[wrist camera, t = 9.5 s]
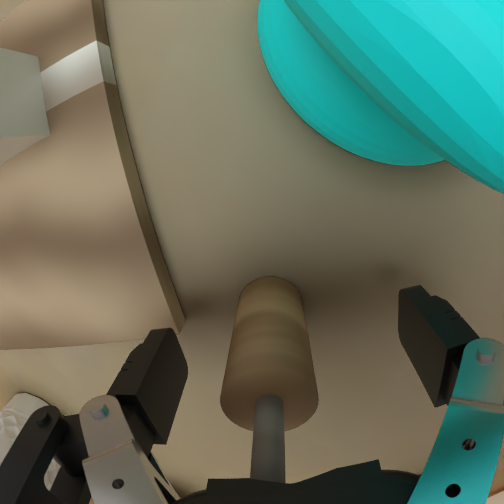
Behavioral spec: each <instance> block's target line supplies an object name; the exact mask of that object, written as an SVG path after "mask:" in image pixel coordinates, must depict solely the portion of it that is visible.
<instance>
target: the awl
mask: <svg viewBox="0 0 504 504" xmlns="http://www.w3.org/2000/svg"><path fill="white" fill-rule="evenodd" d="M220 403H221V407H222V410H223V412H224V413H225V415H226V416H227V417H228V418H229V419H230V420H231V421H232V422H234V423H235V424H237V425H238V426H240V427H242V428H245V429H247V430H251V431H253V444H252V459H251V473H250V479H257V480H263V481H271V482H278V483H285V441H284V431H287V430H291V429H294V428H296V427H298V426H300V425H302V424H303V423H305V422H306V421H307V420H309V419H310V418H311V417H312V415H313V414H314V413H315V411H316V409H317V406H318V391H317V385H316V379H315V373H314V367H313V361H312V355H311V349H310V343H309V338H308V332H307V327H306V321H305V316H304V310H303V305H302V299H301V296H300V294H299V292H298V290H297V289H296V287H295V286H294V285H293V284H291V283H290V282H288V281H287V280H285V279H282V278H279V277H262V278H259V279H256V280H254V281H252V282H251V283H249V284H248V285H247V286H246V287H245V288H244V289H243V291H242V293H241V295H240V297H239V302H238V307H237V312H236V318H235V323H234V328H233V333H232V338H231V344H230V349H229V354H228V359H227V365H226V370H225V375H224V380H223V386H222V391H221V396H220Z"/></svg>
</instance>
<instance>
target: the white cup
mask: <svg viewBox="0 0 504 504" xmlns="http://www.w3.org/2000/svg"><path fill="white" fill-rule="evenodd" d="M48 405H49V404H47V403H46V402H44V401H43V400H41V399H40V398H38V397H35V396H33V395H30V394H28V393H17V394H16V395H15V396H14V397H13V398H12V399H11V400H10V401H9V402H8V403H7V405H6V406H5V407H4V408H3V409H2V411H1V412H0V465H1V463H2V462H3V460H4V458H5V456H6V455H7V453H8V451H9V450H10V448H11V446H12V444H13V443H14V441H15V439H16V438H17V436H18V435H19V433H20V431H21V430H22V428H23V426H24V425H25V423H26V422H27V420H28V418H29V417H30V416H31V414H32V413H33V412H34V411H36V410H37V409H39V408H41V407H43V406H48ZM60 467H61V466H60V465H59V464H58V463H57V462H56V461H55V460H54V459H52V461H51V463H50V465H49V467H48V469H47V471H46V473H45V476H44V483H45V486H46V488H47V489H48V490H49V491H50V489H51V487H52V484H53V482H54V480H55V478H56V475H57V473H58V471H59V469H60Z"/></svg>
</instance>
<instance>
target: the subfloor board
mask: <svg viewBox="0 0 504 504" xmlns="http://www.w3.org/2000/svg"><path fill="white" fill-rule="evenodd" d="M0 48H4V49H8V50H13V51H17V52H21V53H26V54H30V55H34V56H38V57H39V66H40V75H41V83H42V90H43V97H44V104H45V110H46V115H47V121H48V126H49V131H50V135H49V136H47V137H46V138H44V139H42V140H40V141H38V142H37V143H35V144H33V145H32V146H30V147H28V148H27V149H25V150H23V151H22V152H20V153H18V154H17V155H15V156H14V157H12V158H11V159H9V160H7V161H6V162H4V163H3V164H1V165H0V350H8V349H33V348H51V347H66V346H79V345H91V344H102V343H112V342H122V341H131V340H140V339H146V337H147V335H148V334H149V332H150V330H152V329H161V328H172V329H173V330H174V332H175V334H176V335H179V334H180V332H181V330H182V328H183V325H184V323H185V321H186V320H185V318H184V315H183V312H182V309H181V307H180V304H179V301H178V299H177V296H176V293H175V290H174V287H173V285H172V282H171V279H170V276H169V273H168V270H167V267H166V264H165V261H164V258H163V255H162V252H161V249H160V246H159V243H158V240H157V237H156V234H155V231H154V227H153V224H152V221H151V218H150V214H149V211H148V208H147V204H146V201H145V197H144V194H143V190H142V187H141V183H140V180H139V176H138V172H137V169H136V165H135V161H134V157H133V153H132V150H131V146H130V142H129V138H128V134H127V129H126V125H125V121H124V117H123V112H122V108H121V103H120V99H119V94H118V89H117V84H116V79H115V74H114V69H113V64H112V58H111V53H110V47H109V41H108V35H107V29H106V22H105V15H104V8H103V0H27V1H25V2H24V3H23V4H21V5H20V6H19V7H17V8H16V9H15V10H13V11H12V12H11V13H10V14H8V15H7V16H6V17H5V18H4V19H2V20H1V21H0Z"/></svg>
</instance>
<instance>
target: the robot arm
mask: <svg viewBox="0 0 504 504" xmlns="http://www.w3.org/2000/svg"><path fill="white" fill-rule="evenodd" d="M398 332H399V338H400V341H401V344H402V346H403V347H404V349H405V351H406V353H407V355H408V357H409V358H410V360H411V362H412V364H413V366H414V368H415V370H416V371H417V373H418V375H419V377H420V379H421V381H422V383H423V385H424V387H425V389H426V391H427V393H428V395H429V397H430V399H431V401H432V403H433V405H434V407H438V406H441V405H444V404H447V405H448V408H447V411H446V414H445V417H444V420H443V423H442V426H441V428H440V431H439V434H438V437H437V439H436V442H435V444H434V447H433V449H432V452H431V454H430V456H429V459H428V461H427V463H426V466H425V468H424V470H423V472H422V475H421V476H419V475H416V474H413V473H409V472H405V471H398V470H381V467H380V463H379V460H374V461H370V462H365V463H361V464H356V465H351V466H346V467H341V468H336V469H334V470H331V471H328V472H326V473H323V474H320V475H318V476H315V477H312V478H309V479H306V480H303V481H300V482H297V483H292V484H287V483H278V482H271V481H263V480H257V479H250V478H240V479H208V483H207V488H206V490H202V491H198V492H195V493H192V494H189V495H187V496H184V497H182V498H180V497H179V496H178V494H177V493H176V492H175V490H174V488H173V487H172V485H171V484H170V482H169V480H168V479H167V477H166V475H165V473H164V472H163V470H162V468H161V466H160V465H159V463H158V461H157V459H156V457H155V456H154V454H153V453H152V451H151V449H152V446H153V444H165V445H166V443H167V440H168V437H169V434H170V430H171V427H172V424H173V421H174V418H175V414H176V411H177V408H178V405H179V402H180V399H181V395H182V392H183V389H184V386H185V383H186V380H187V376H188V367H187V362H186V359H185V357H184V354H183V352H182V349H181V347H180V344H179V342H178V339H177V336H176V334H175V332H174V330H173V329H172V328H161V329H152V330H150V332H149V334H148V335H147V337H146V339H145V341H144V342H143V344H139V345H138V346H137V347H136V348H135V349H134V350H133V351H132V352H131V353H130V354H129V356H128V358H127V360H126V361H125V362H126V363H124V365H123V366H122V368H121V371H120V372H119V373H118V375H117V377H116V379H115V380H114V382H113V384H112V386H111V387H110V389H109V391H108V393H107V394H106V395H101V396H98V397H95V398H93V399H91V400H90V401H88V402H87V403H86V404H85V405H84V406H83V407H82V409H81V411H80V414H76V415H70V416H64V417H63V415H62V414H61V412H60V411H59V410H58V408H57V407H55V406H52V405H48V406H43V407H41V408H39V409H37V410H36V411H34V412H33V413H32V414H31V416H30V417H29V418H28V420H27V422H26V423H25V425H24V426H23V428H22V430H21V431H20V433H19V435H18V436H17V438H16V439H15V441H14V443H13V444H12V446H11V448H10V450H9V451H8V453H7V455H6V456H5V458H4V460H3V462H2V463H1V465H0V504H89V502H90V499H91V496H92V499H93V502H94V504H485V503H486V500H487V497H488V494H489V491H490V487H491V484H492V481H493V477H494V473H495V470H496V466H497V462H498V457H499V453H500V449H501V444H502V439H503V434H504V345H503V344H502V343H500V342H498V341H496V340H494V339H490V338H480V337H479V336H478V335H477V334H476V333H475V331H474V330H473V329H472V328H471V327H470V326H469V325H468V323H467V322H466V321H465V320H464V319H463V318H462V317H460V315H459V313H458V312H457V311H455V309H454V308H453V307H452V306H451V305H450V304H449V303H448V301H446V300H444V299H442V298H440V297H438V296H432V297H431V296H430V295H429V294H428V292H427V291H426V290H425V289H424V288H423V287H422V286H421V285H418V286H414V287H409V288H405V289H401V290H400V291H399V314H398ZM52 459H54V460H55V461H56V462H57V463H58V464H59V465H60V466H61V467H60V469H59V471H58V473H57V475H56V478H55V480H54V482H53V484H52V487H51V489H50V491H49V490H48V489H47V488H46V486H45V483H44V476H45V473H46V471H47V469H48V467H49V465H50V463H51V461H52Z"/></svg>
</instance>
